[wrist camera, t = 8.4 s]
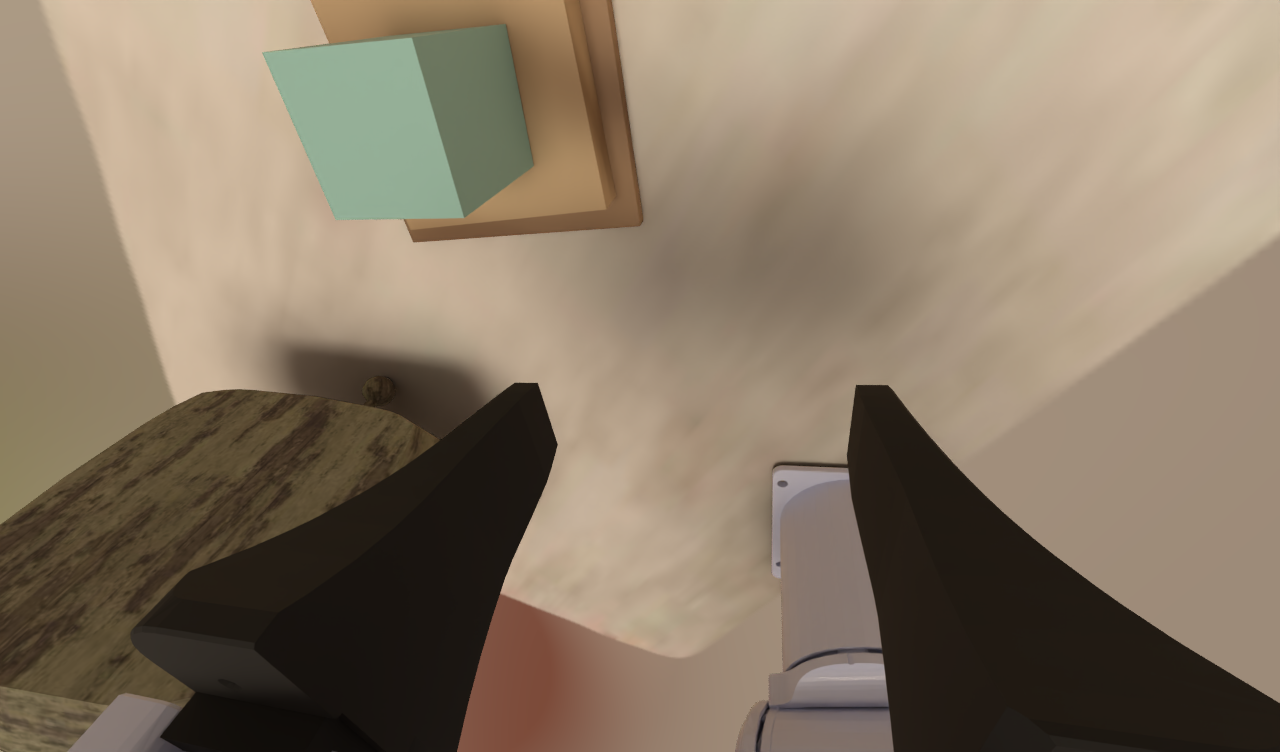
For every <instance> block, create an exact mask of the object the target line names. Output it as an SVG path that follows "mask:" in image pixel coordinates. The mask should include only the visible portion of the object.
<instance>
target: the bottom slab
mask: <svg viewBox="0 0 1280 752" xmlns="http://www.w3.org/2000/svg"><path fill="white" fill-rule="evenodd" d="M579 3H580V8H581V14H582V19H583V24H584V29H585V35H586V40H587V45H588V50H589V56H590V61H591V66H592V71H593V77H594V82H595V87H596V92H597V97H598V103H599V108H600V113H601V118H602V124H603V129H604V134H605V139H606V145H607V150H608V155H609V160H610V166H611V171H612V176H613V181H614V187H615V192H616V197H615V198H614V200H613V201H612V202H611V204H610V205H609V207H608V208H607V209H605V210H596V211H586V212H577V213H567V214H558V215H548V216H539V217H529V218H520V219H510V220H501V221H491V222H482V223H472V224H463V225H453V226H444V227H434V228H425V229H416V230H410V228H409V225H408V223H407V221H406V219H404V221H405V224H406V226H407V228H408V231H409V233H410V235H411V238H412V240H413V242H426V241H439V240H453V239H467V238H481V237H494V236H508V235H522V234H536V233H550V232H563V231H577V230H591V229H605V228H618V227H632V226H640V225H641V223H642V221H643V215H642V208H641V201H640V194H639V187H638V180H637V173H636V166H635V159H634V152H633V145H632V139H631V132H630V125H629V118H628V111H627V104H626V97H625V90H624V83H623V76H622V69H621V62H620V55H619V49H618V42H617V35H616V28H615V21H614V14H613V7H612V0H579Z"/></svg>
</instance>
